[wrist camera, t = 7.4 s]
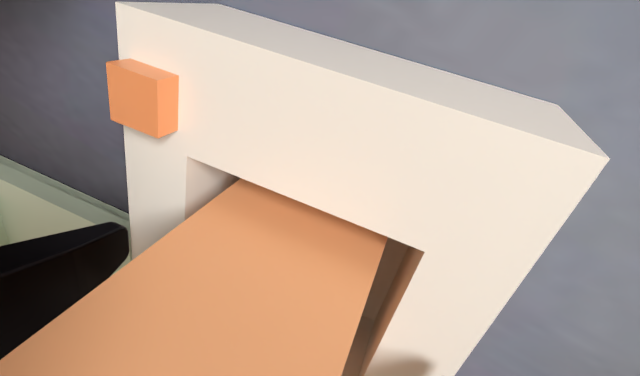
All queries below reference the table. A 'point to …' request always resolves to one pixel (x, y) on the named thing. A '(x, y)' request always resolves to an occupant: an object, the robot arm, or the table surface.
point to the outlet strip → (351, 163)
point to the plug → (221, 298)
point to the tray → (47, 207)
